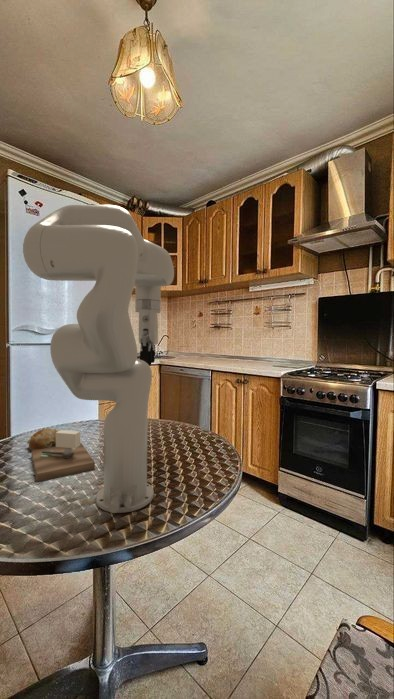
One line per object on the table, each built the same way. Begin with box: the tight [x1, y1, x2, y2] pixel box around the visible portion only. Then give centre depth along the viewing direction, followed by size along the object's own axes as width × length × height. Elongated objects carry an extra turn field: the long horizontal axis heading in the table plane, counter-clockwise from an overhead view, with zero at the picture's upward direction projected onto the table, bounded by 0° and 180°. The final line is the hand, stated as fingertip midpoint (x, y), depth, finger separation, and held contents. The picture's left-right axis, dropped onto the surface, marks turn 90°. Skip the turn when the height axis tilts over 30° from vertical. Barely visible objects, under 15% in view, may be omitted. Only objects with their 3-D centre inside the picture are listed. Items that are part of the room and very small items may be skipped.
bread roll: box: [27, 428, 58, 452], centre depth 98 cm, size 10×10×8 cm
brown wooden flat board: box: [31, 441, 96, 483], centre depth 86 cm, size 18×14×2 cm
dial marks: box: [40, 448, 76, 457], centre depth 89 cm, size 4×11×1 cm, turn 139°
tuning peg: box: [42, 429, 81, 458], centre depth 85 cm, size 11×3×7 cm, turn 80°
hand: (147, 363), depth 91 cm, fingers open, 9 cm apart
